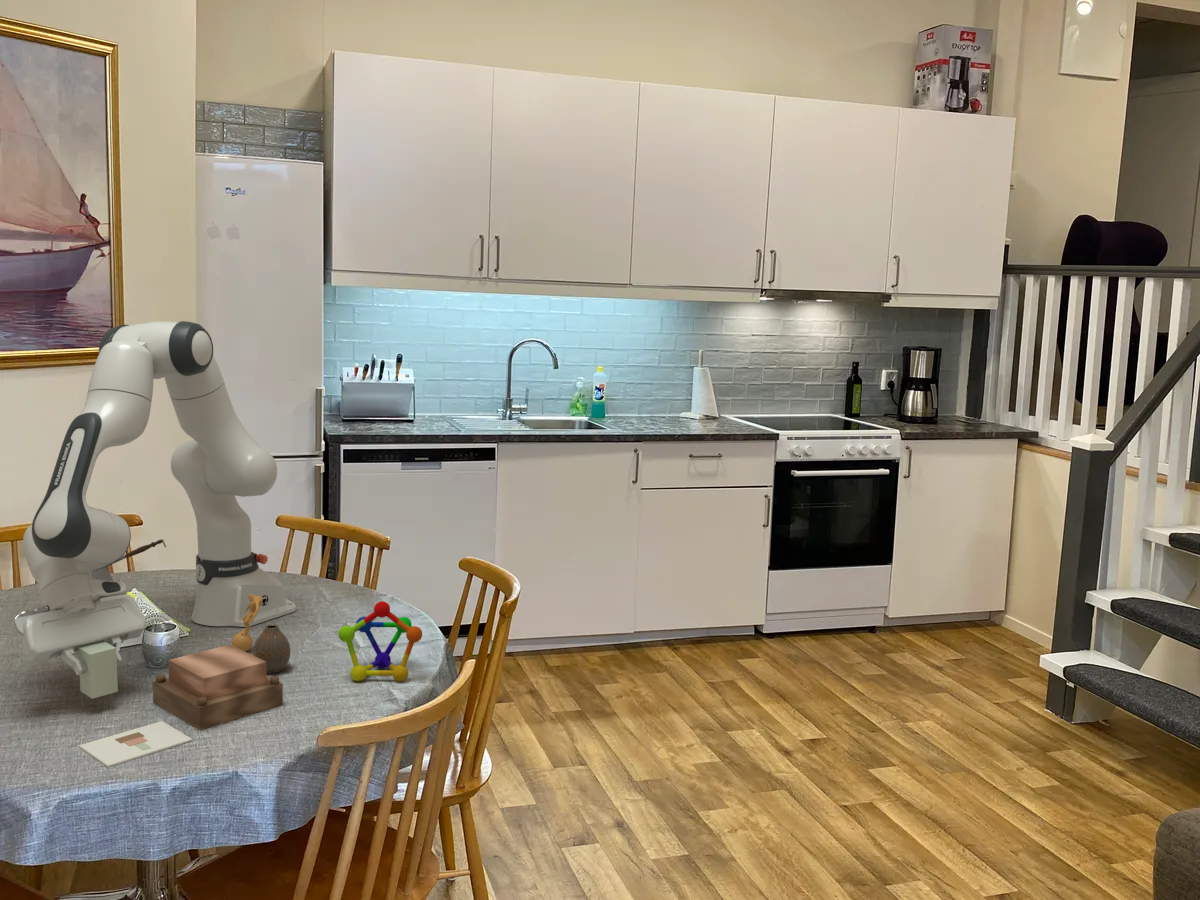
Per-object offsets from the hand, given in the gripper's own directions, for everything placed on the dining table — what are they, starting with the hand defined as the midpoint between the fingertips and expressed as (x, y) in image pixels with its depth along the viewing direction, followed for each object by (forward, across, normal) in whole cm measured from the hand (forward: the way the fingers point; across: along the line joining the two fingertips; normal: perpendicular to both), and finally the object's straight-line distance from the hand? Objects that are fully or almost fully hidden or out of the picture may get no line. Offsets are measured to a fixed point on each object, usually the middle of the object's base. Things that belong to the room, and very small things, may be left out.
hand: (99, 668), depth 190 cm
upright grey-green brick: (+3, 0, +4) cm, 4 cm away
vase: (+8, +32, +3) cm, 33 cm away
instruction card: (+18, -2, -7) cm, 19 cm away
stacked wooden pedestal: (+14, +16, -3) cm, 21 cm away
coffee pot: (-31, +27, +43) cm, 60 cm away
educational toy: (+19, +46, -7) cm, 50 cm away
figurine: (0, +34, +12) cm, 36 cm away
